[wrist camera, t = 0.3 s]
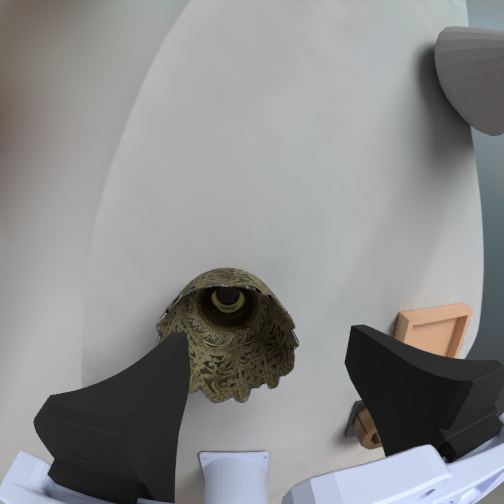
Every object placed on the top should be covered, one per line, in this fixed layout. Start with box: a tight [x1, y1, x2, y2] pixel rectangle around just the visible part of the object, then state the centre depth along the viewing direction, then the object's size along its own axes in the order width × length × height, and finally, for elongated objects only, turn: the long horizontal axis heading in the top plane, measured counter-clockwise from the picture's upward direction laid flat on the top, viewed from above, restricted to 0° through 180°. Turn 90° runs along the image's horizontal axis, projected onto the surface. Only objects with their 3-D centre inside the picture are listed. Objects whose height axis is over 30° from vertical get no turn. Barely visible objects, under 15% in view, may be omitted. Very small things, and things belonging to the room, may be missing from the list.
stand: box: [345, 400, 381, 441], centre depth 24 cm, size 6×6×5 cm
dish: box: [393, 303, 473, 359], centre depth 23 cm, size 9×9×2 cm
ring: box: [353, 408, 382, 450], centre depth 24 cm, size 5×5×3 cm
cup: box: [155, 268, 299, 403], centre depth 17 cm, size 8×7×8 cm
